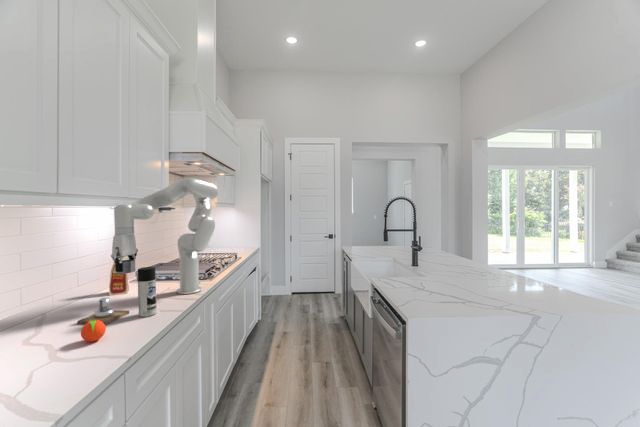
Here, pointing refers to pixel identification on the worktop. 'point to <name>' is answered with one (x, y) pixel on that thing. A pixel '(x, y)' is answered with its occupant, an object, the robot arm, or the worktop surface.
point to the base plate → (106, 320)
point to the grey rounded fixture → (104, 309)
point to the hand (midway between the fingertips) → (125, 269)
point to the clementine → (93, 330)
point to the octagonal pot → (128, 266)
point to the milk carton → (118, 282)
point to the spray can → (146, 291)
